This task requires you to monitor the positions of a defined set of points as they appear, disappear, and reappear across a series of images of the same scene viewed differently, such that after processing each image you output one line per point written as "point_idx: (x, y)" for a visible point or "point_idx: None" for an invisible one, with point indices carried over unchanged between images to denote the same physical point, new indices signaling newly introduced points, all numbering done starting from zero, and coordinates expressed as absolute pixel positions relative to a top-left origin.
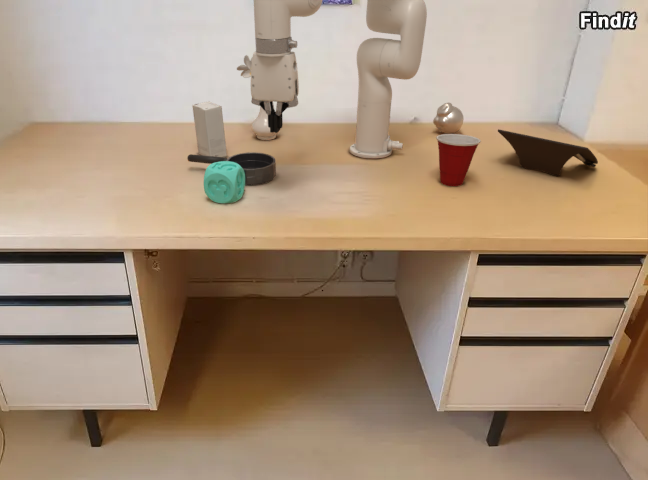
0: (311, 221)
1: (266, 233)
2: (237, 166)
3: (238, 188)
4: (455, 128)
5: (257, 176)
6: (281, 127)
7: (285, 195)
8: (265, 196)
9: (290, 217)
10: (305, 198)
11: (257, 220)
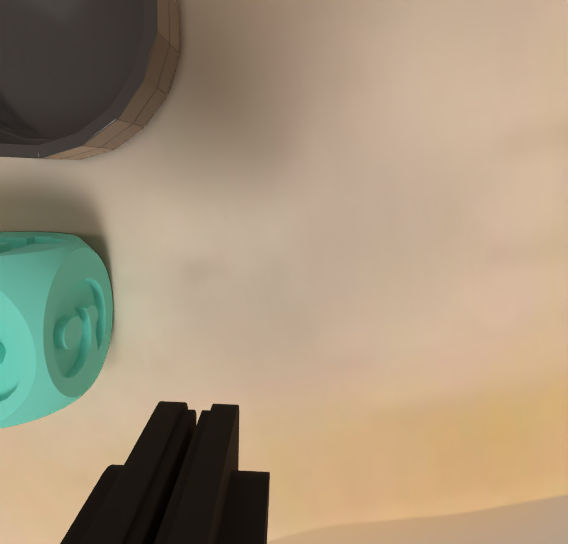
0: (426, 425)
1: (295, 528)
2: (20, 334)
3: (91, 342)
4: None
5: (111, 136)
6: (268, 505)
7: (283, 223)
8: (202, 252)
9: (347, 411)
10: (374, 235)
11: (239, 454)
